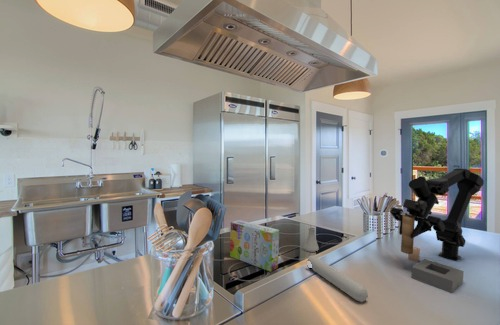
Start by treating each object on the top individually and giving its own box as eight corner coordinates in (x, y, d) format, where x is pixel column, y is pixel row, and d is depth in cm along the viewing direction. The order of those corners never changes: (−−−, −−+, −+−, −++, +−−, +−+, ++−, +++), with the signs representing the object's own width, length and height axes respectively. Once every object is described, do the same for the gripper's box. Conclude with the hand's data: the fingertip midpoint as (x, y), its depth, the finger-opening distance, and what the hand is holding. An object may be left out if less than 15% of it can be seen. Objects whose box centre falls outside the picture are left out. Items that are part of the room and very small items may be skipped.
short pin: (410, 256, 112) (410, 245, 112) (420, 260, 109) (421, 248, 108) (406, 259, 109) (407, 247, 109) (416, 262, 106) (417, 250, 106)
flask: (306, 245, 123) (307, 224, 122) (321, 249, 118) (322, 227, 118) (300, 249, 117) (301, 228, 116) (315, 254, 113) (316, 231, 112)
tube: (373, 289, 78) (318, 256, 101) (361, 287, 76) (308, 254, 98) (368, 306, 78) (314, 269, 100) (356, 305, 76) (304, 267, 98)
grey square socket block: (424, 268, 101) (424, 258, 100) (462, 281, 91) (463, 271, 91) (411, 277, 93) (412, 266, 93) (451, 292, 84) (452, 281, 84)
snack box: (278, 267, 99) (280, 229, 98) (270, 272, 95) (272, 233, 94) (237, 252, 112) (238, 218, 111) (228, 256, 108) (229, 221, 107)
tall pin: (403, 248, 103) (405, 214, 102) (414, 252, 100) (416, 217, 99) (399, 251, 101) (400, 216, 100) (410, 254, 97) (412, 218, 96)
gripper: (393, 188, 109) (375, 216, 105) (442, 196, 92) (422, 230, 88) (404, 205, 113) (386, 233, 109) (453, 215, 96) (434, 249, 92)
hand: (405, 235), depth 99 cm, fingers closed on tall pin, 4 cm apart
